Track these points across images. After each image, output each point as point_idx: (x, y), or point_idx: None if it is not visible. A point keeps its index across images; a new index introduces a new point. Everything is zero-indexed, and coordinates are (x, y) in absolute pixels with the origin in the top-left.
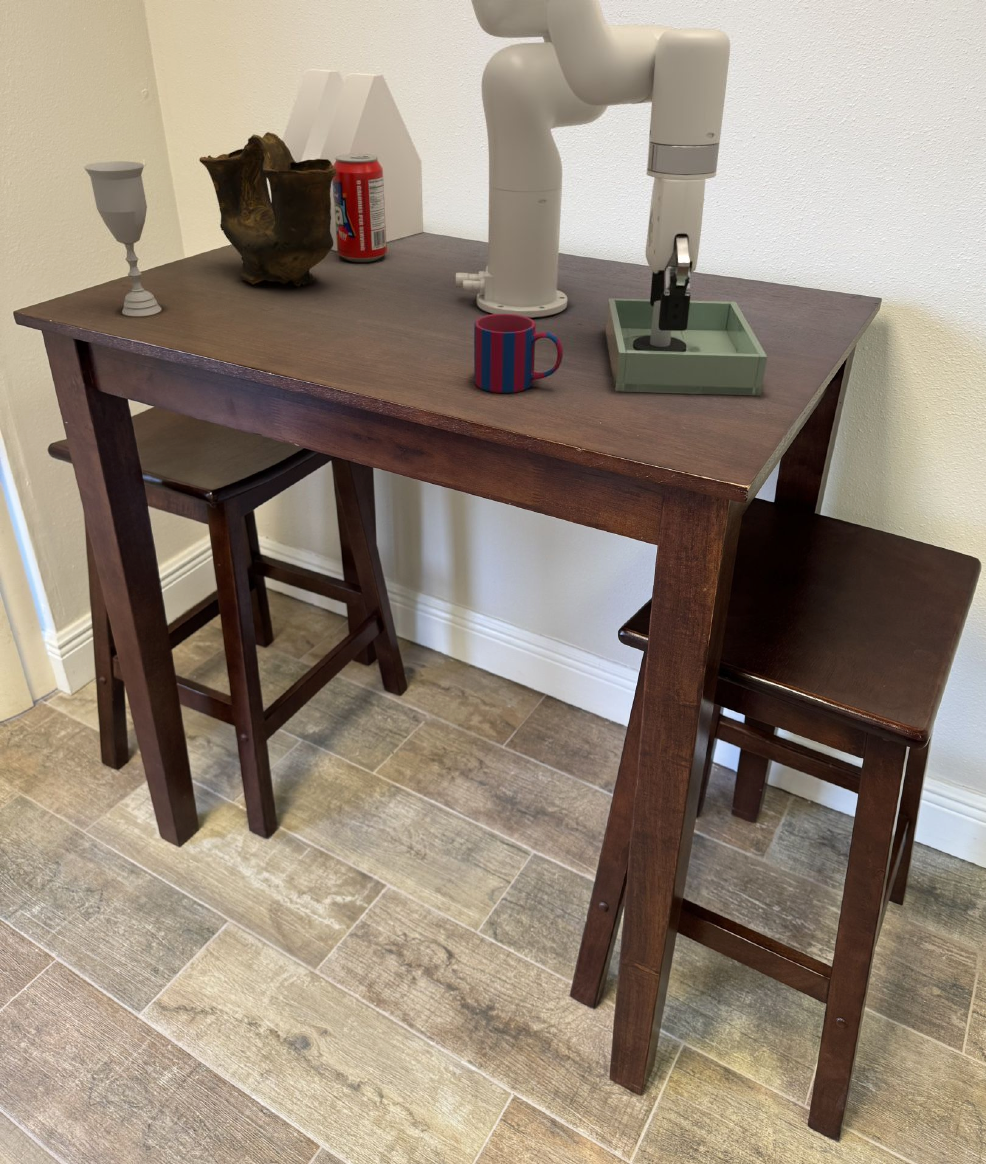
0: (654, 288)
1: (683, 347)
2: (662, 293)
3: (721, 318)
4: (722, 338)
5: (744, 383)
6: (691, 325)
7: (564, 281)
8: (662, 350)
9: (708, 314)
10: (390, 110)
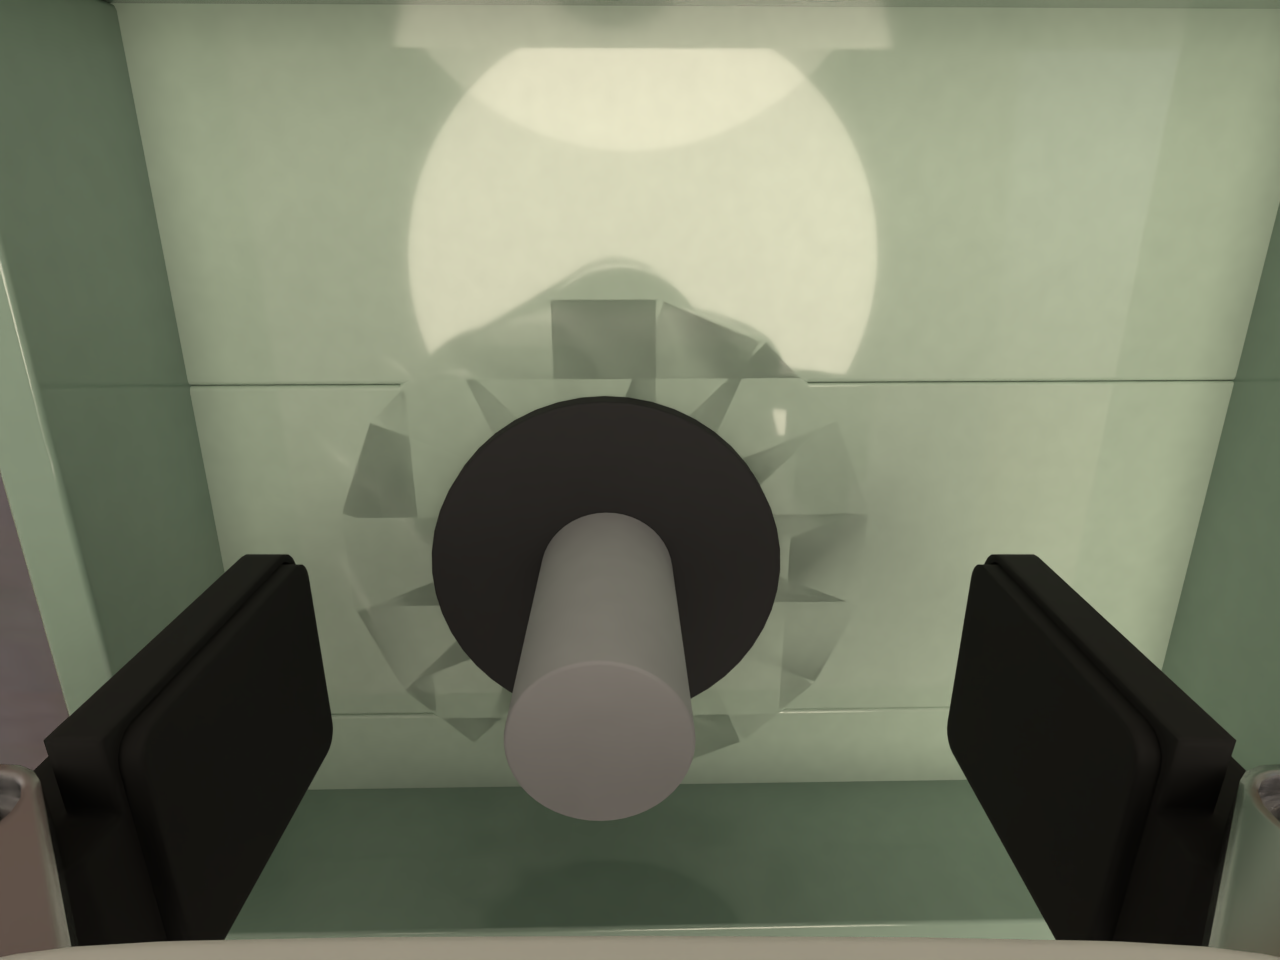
0: (268, 838)
1: (665, 428)
2: (281, 738)
3: (61, 44)
4: (332, 74)
5: None
6: (155, 310)
7: None
8: (733, 567)
9: (68, 179)
10: None
